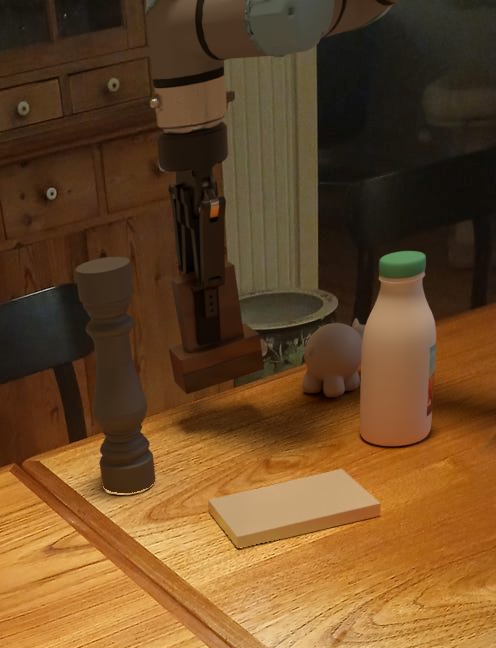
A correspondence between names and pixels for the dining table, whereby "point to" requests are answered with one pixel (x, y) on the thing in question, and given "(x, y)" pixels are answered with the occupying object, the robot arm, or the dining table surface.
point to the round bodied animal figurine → (333, 359)
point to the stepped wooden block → (219, 357)
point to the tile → (293, 508)
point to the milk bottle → (398, 356)
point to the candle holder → (116, 375)
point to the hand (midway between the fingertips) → (204, 338)
